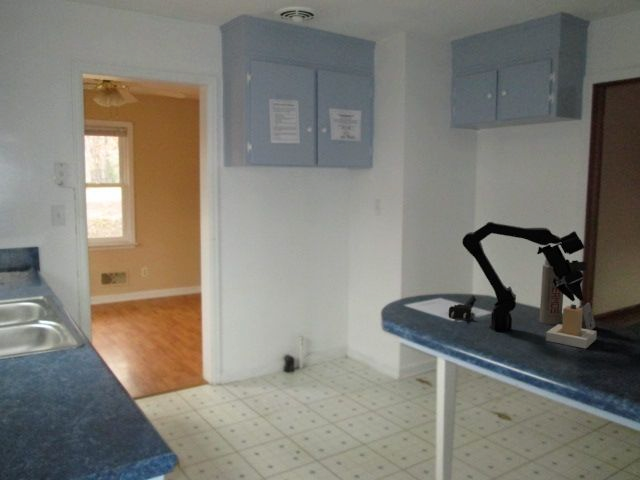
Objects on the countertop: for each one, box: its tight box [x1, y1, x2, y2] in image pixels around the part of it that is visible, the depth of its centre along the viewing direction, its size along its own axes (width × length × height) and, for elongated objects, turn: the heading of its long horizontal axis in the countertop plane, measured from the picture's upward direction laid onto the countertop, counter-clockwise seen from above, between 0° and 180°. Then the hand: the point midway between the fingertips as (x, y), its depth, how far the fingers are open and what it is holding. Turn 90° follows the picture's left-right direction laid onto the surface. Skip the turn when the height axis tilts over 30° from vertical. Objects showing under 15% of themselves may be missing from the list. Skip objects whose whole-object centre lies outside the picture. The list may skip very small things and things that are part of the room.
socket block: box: [545, 324, 598, 350], centre depth 191 cm, size 13×13×3 cm
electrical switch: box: [577, 302, 596, 330], centre depth 204 cm, size 9×5×9 cm, turn 141°
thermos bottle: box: [539, 258, 564, 326], centre depth 211 cm, size 8×8×28 cm
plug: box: [561, 304, 583, 337], centre depth 190 cm, size 6×5×12 cm
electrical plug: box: [448, 295, 476, 321], centre depth 231 cm, size 9×42×5 cm, turn 156°
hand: (577, 300), depth 190 cm, fingers open, 9 cm apart
